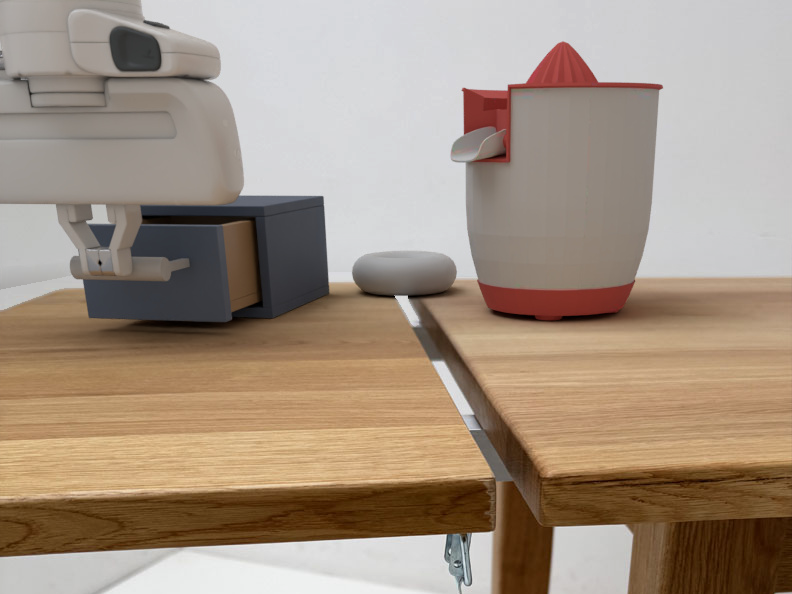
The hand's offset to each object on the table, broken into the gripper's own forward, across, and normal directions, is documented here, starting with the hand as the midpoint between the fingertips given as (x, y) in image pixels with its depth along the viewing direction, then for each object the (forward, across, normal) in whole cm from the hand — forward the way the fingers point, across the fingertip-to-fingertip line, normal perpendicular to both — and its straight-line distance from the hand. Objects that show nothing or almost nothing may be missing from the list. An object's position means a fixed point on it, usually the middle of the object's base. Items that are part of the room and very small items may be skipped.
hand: (108, 275), depth 71 cm
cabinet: (+5, 0, +21) cm, 22 cm away
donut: (+5, +13, +31) cm, 34 cm away
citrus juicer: (+5, +28, +21) cm, 35 cm away
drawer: (+4, 0, +10) cm, 11 cm away
